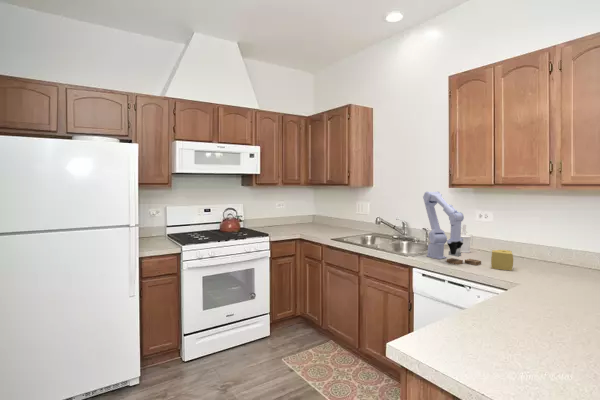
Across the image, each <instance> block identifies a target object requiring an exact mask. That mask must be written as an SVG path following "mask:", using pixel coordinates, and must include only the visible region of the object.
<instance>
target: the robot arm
mask: <svg viewBox="0 0 600 400" xmlns="http://www.w3.org/2000/svg"><path fill="white" fill-rule="evenodd" d="M442 195H443V194H442V193H441V192H440V191H425V192H424V194H423V196H422V198H423V202H424V207H425V210H426V213H427V218H428V221H429V225H430V229H431V231H429V233H428V237H429V239H428V240H429V242H430V243H428V246H427V257H428V258H432V259H437V260H441V259H447V256H445V252H444V251H445V250H444V249H445V245H446V243H447V246H448V248H449V251H450V252H451V254H453V255H455V251H456V247H457V248H461V246H462V244H463V238H461V235H462V222H463V221H464V219H465V218H464V214H463V212H461V211H458V210H457V209H456V208H455V207H454V206H453V205H452V204H448V202H447V201H446V200H445V199H444V198H443V196H442ZM438 204H439V206H441V207H442V208H443V210H442V211H443V212H444V213H445V214H446V215H447V216H448V220H449V224H450V232H449V233H450V234H449V235H450V237H449V239H448V237H447V235H446V234H445V233H446V232H445V231H444V230H443V229H441V227H440V222H439V219H438V216H437V212H436V207H435V206H437V205H438ZM461 241H462V242H461Z"/></svg>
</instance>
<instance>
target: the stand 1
mask: <svg viewBox="0 0 600 400" xmlns="http://www.w3.org/2000/svg"><path fill="white" fill-rule="evenodd" d="M445 263H448V264H452V265H456V266H458V265H463V263H464V260H463V259H459V258H454V257H451V258H446V261H445Z"/></svg>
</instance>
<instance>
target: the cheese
mask: <svg viewBox="0 0 600 400" xmlns="http://www.w3.org/2000/svg"><path fill="white" fill-rule="evenodd" d="M490 264H491V269H494V270H500V271H501V270H504V271H509V272H510V271H513V268H514V267H513V266H514V254H513V252H512V250H506V249H497V250H495V249H492V251H491V260H490Z"/></svg>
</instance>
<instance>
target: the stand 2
mask: <svg viewBox="0 0 600 400" xmlns="http://www.w3.org/2000/svg"><path fill="white" fill-rule="evenodd" d="M464 264H466V265H471V266H479V265H482V260H479V259H474V258H467V259H464Z"/></svg>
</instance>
